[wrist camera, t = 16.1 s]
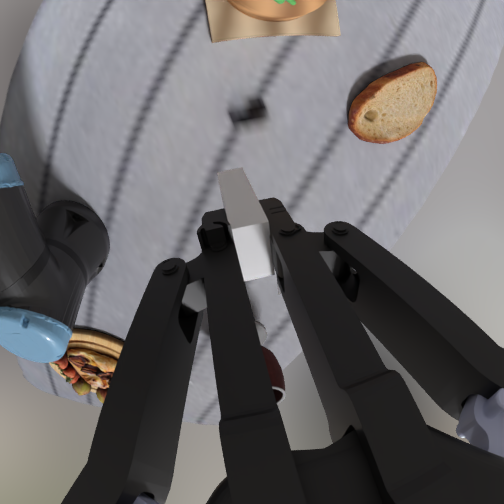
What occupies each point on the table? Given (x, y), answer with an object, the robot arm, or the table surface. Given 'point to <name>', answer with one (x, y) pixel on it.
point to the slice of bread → (393, 104)
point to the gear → (290, 0)
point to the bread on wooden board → (271, 18)
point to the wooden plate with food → (89, 361)
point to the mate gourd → (272, 366)
